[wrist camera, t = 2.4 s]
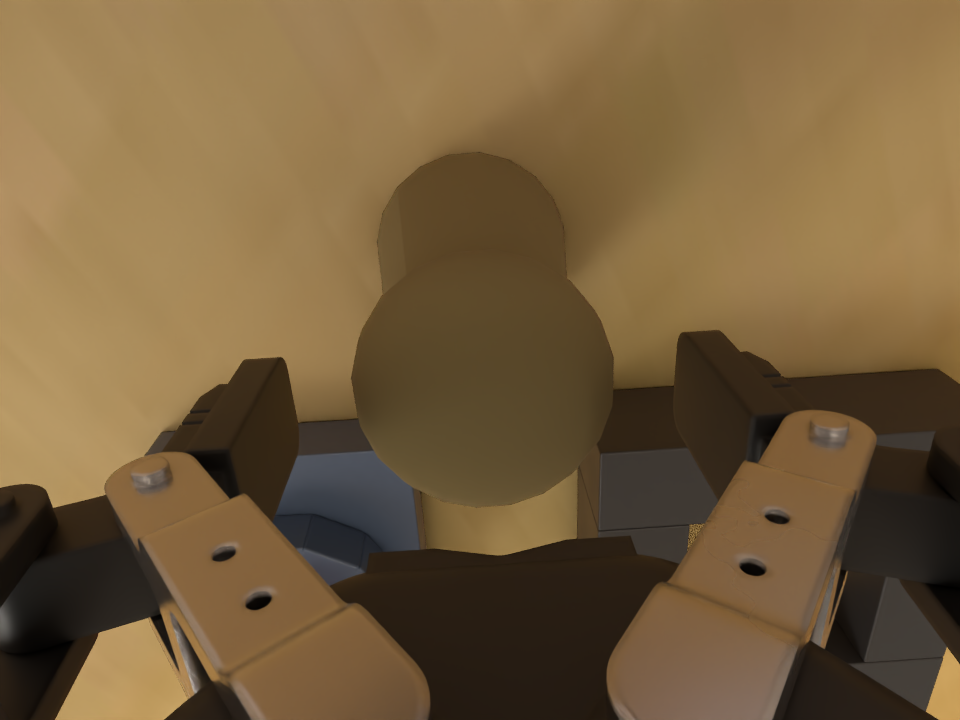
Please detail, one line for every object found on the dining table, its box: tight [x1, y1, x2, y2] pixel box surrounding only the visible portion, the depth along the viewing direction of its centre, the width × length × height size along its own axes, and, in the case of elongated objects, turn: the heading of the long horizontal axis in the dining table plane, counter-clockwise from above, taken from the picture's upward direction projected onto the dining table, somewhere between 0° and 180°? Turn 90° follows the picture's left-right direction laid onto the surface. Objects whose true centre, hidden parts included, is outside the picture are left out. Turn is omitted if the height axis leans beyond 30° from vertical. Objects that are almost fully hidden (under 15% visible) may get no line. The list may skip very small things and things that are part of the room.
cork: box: [351, 152, 614, 508], centre depth 17 cm, size 6×6×11 cm
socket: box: [577, 369, 960, 712], centre depth 26 cm, size 13×13×4 cm
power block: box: [145, 419, 427, 586], centre depth 26 cm, size 12×9×4 cm
